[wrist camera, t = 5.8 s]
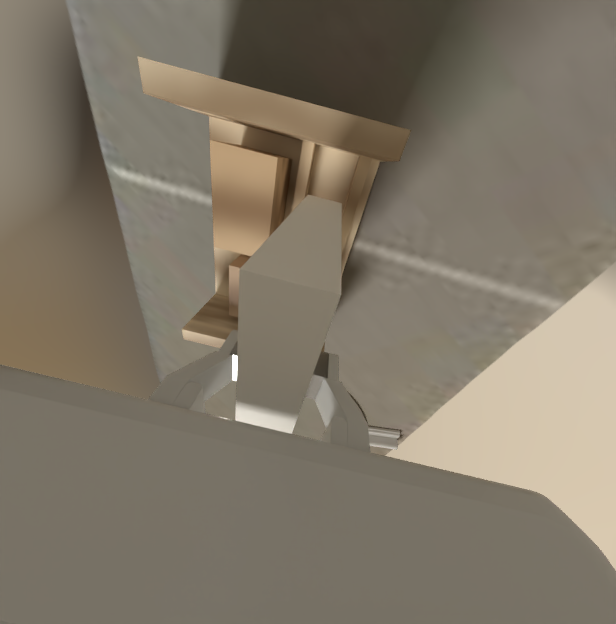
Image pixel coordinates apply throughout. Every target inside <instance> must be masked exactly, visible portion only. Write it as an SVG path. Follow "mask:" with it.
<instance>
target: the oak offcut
mask: <svg viewBox="0 0 616 624" xmlns="http://www.w3.org/2000/svg"><path fill="white" fill-rule="evenodd" d="M210 155H211V181H212V207H213V233H214V247H216V248H220V249H224V250H228V251H232V252H236V253H240V254H244V255H248V256H252V255H253V254H254V253H255V252H256V251H257V250H258V249H259V247H260V246H261V245H262V244H263V243H264V242H265V241H266V240H267V239H268V238H269V237H270V235H271V234H272V233H273V232H274V231H275V230H276V229H277V228H278V227H279V226H280V225H281V224H282V222H283V221H284V216H285V209H286V202H287V194H288V187H289V180H290V173H291V166H292V158H288V157H284V156H280V155H276V154H273V153H269V152H265V151H261V150H257V149H254V148H250V147H246V146H242V145H237V144H231V143H226V142H220V141H214V140H210Z"/></svg>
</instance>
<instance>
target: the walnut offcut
mask: <svg viewBox="0 0 616 624" xmlns="http://www.w3.org/2000/svg"><path fill="white" fill-rule="evenodd" d="M250 257H251V256H248V255H244V254H241V255H240V256H238V257H237V258H236V259H235V260H234V261H233V262H232V263H231V264H230V265H229V315H230V316H234V317H238V307H239V269H240V268H241V267H242V266H243V265H244V264H245V263H246V262H247V261H248V259H249V258H250Z"/></svg>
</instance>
